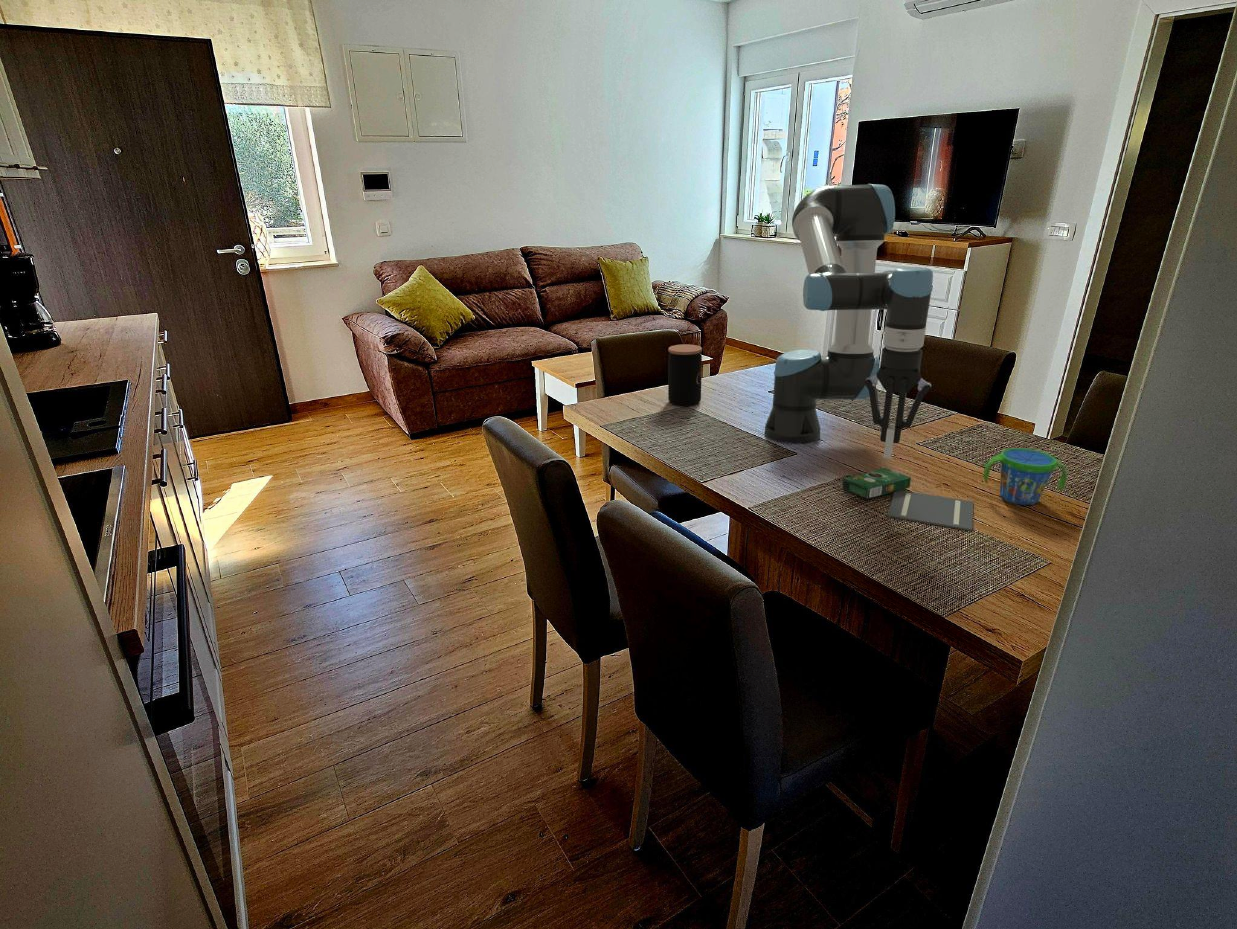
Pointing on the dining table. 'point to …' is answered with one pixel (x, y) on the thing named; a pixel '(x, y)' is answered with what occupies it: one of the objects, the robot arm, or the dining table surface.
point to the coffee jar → (684, 375)
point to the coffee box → (876, 483)
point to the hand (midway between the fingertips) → (887, 456)
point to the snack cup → (1024, 474)
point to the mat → (932, 509)
